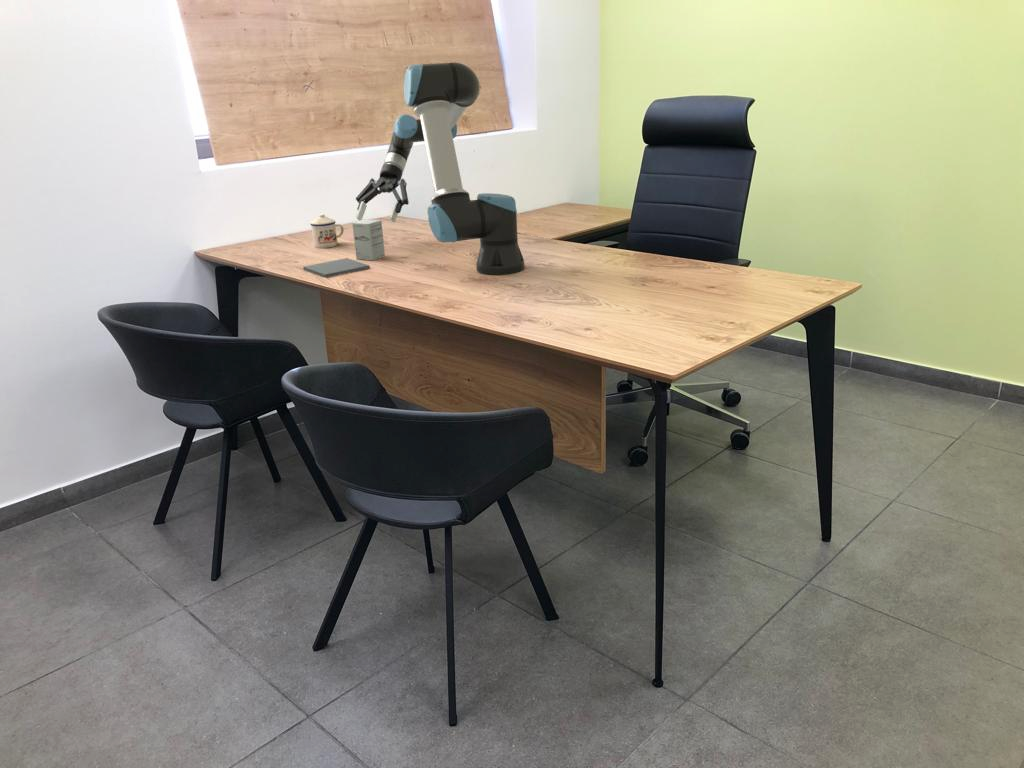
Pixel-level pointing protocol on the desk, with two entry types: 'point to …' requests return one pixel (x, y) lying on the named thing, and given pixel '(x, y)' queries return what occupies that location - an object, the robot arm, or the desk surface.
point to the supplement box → (368, 239)
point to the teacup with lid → (325, 232)
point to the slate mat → (336, 267)
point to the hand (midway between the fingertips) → (375, 219)
